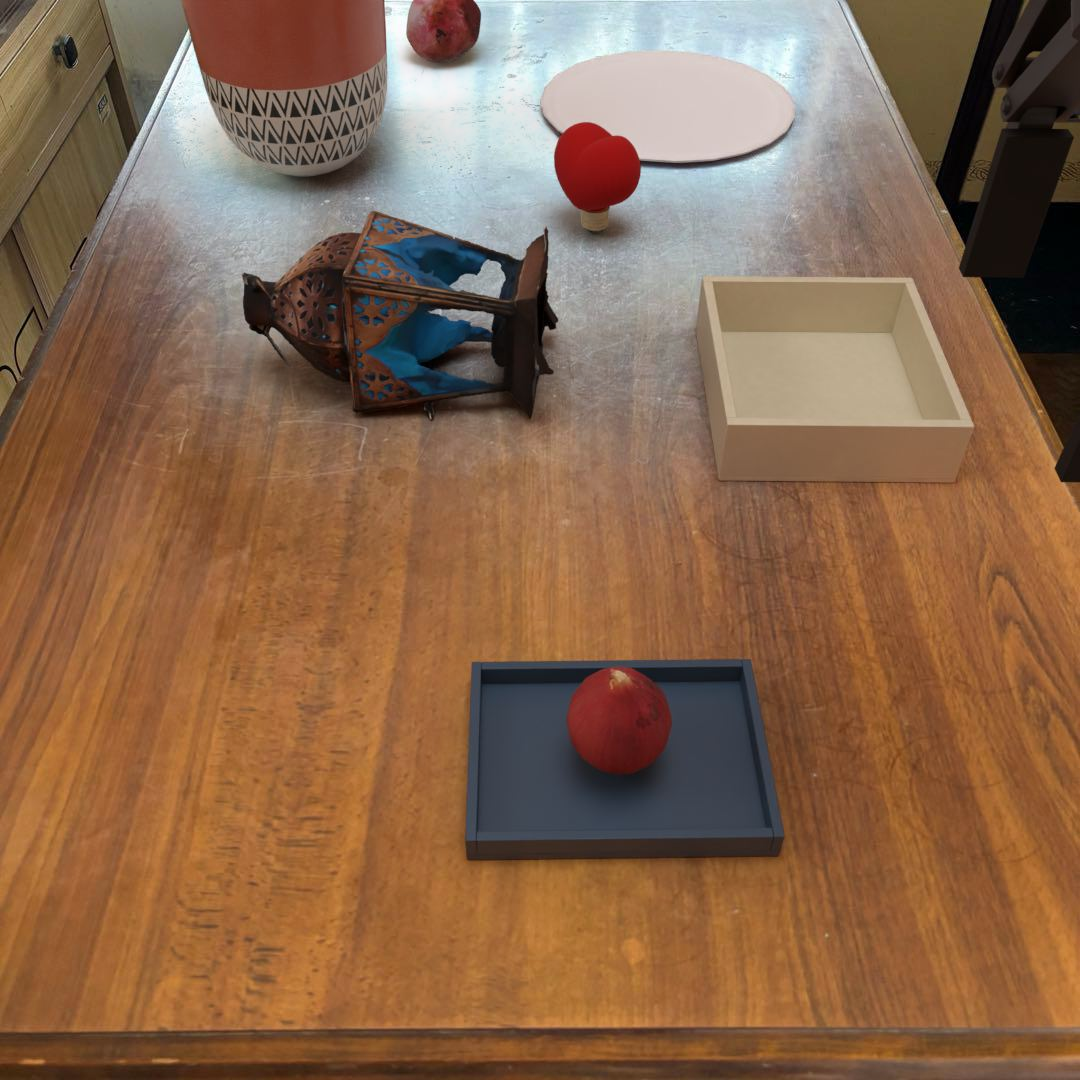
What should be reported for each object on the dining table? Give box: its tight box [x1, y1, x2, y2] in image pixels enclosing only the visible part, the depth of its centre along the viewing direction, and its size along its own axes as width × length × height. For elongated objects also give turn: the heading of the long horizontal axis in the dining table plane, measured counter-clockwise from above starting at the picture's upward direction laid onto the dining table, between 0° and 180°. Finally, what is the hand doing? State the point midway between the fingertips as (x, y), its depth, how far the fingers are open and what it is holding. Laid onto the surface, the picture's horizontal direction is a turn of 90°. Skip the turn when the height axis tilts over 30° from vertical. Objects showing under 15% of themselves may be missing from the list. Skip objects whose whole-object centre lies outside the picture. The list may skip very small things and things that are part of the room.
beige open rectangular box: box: [695, 275, 975, 484], centre depth 87 cm, size 20×18×5 cm
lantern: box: [241, 210, 559, 421], centre depth 87 cm, size 16×16×25 cm
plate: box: [539, 49, 796, 164], centre depth 127 cm, size 29×29×1 cm
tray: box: [464, 658, 786, 861], centre depth 64 cm, size 17×12×2 cm
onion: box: [566, 666, 672, 775], centre depth 62 cm, size 6×6×8 cm
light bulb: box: [553, 122, 642, 234], centre depth 104 cm, size 9×7×10 cm
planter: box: [180, 0, 388, 177], centre depth 110 cm, size 20×20×21 cm
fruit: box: [405, 0, 482, 63], centre depth 134 cm, size 9×10×10 cm
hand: (1037, 364), depth 45 cm, fingers open, 13 cm apart
